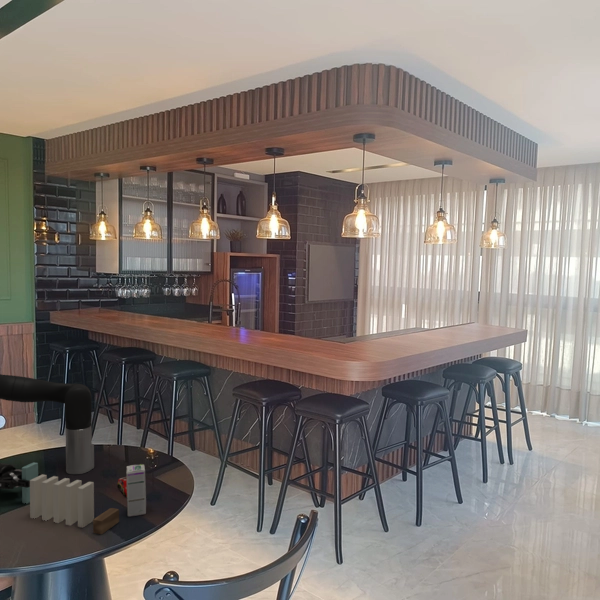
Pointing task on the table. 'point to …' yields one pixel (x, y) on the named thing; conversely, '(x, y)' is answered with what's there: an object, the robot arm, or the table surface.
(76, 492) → the domino
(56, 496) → the domino
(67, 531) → the table surface
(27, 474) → the domino
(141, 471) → the syrup box
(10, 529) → the table surface
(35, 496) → the domino
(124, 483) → the race car
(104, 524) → the end stop
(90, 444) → the robot arm
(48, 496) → the domino
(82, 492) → the domino
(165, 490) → the table surface
